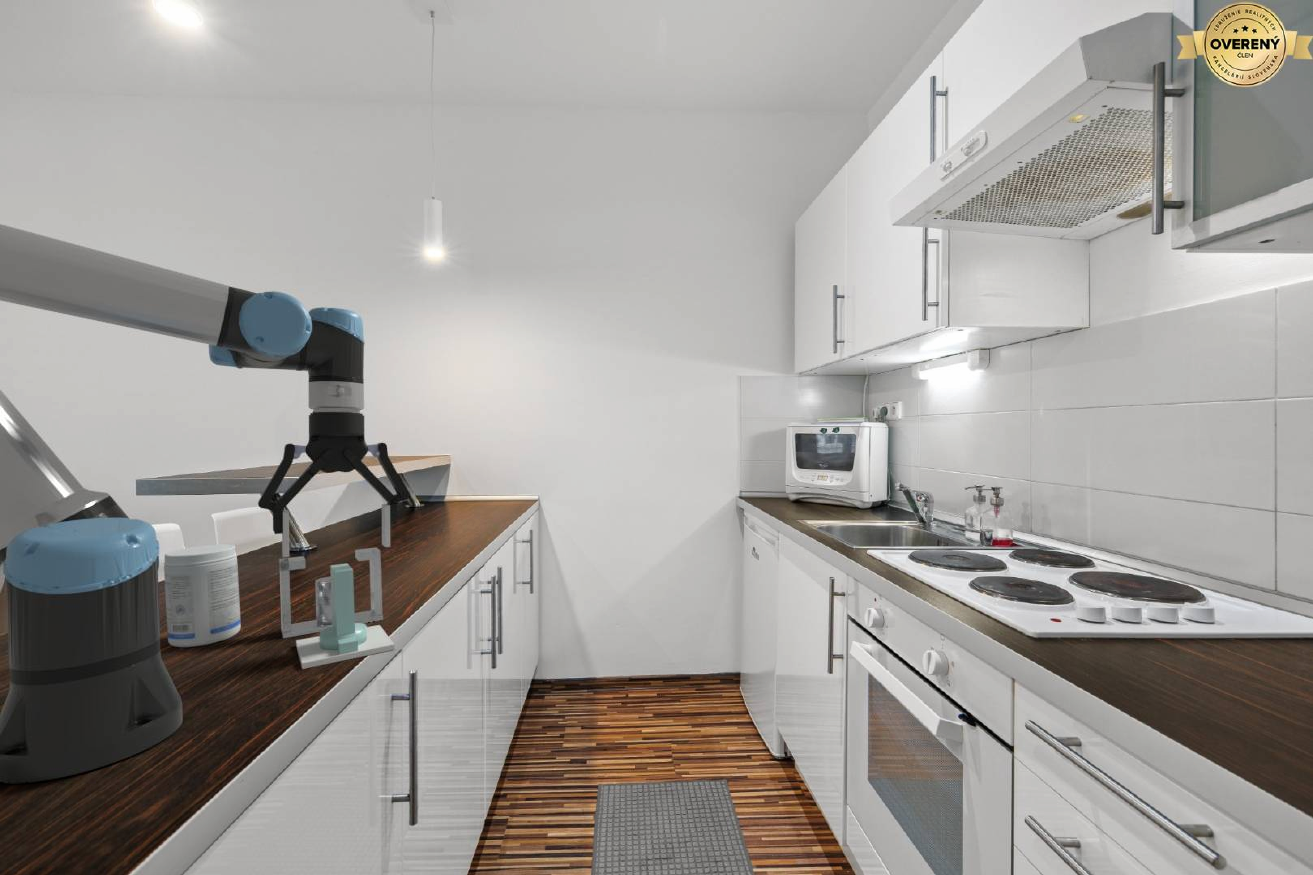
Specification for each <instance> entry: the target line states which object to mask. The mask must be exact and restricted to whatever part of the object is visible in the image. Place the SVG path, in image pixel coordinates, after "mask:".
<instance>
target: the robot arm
mask: <svg viewBox="0 0 1313 875" xmlns="http://www.w3.org/2000/svg"><path fill="white" fill-rule="evenodd" d="M1 301H2V302H5V303H10V304H15V305H21V306H25V307H30V308H35V309H39V310H43V311H49V312H53V313H58V314H62V315H68V316H73V317H78V318H81V319H82V318H83V319H87V320H92V321H97V322H101V323H106V324H110V325H111V324H112V325H115V326H118V327H119V326H120V327H123V328H125V327H126V328H129V329H133V330H134V329H135V330H139V331H144V332H148V333H154V334H159V335H162V336H169V337H173V338H177V339H182V340H187V341H190V342H191V341H192V342H196V343H199V344H200V343H201V344H206V345H208V355H209V359H210V361H211V363H213V364H214V365H216V366H223V367H230V368H231V367H233V368H237V369H238V370H239V369H245V368H246V369H263V370H265V369H266V370H267V369H268V370H285V371H286V370H287V371H289V370H290V371H297V372H298V371H300V372H302V371H303V372H307V373H308V374H307V375H308V408H309V410H313V411H312V412H311V413H310V414H309V415H308V441H307V444H306V445H300V444H299V445H298V444H293V443H287V444H285V445H284V448H283V449H284V450H283V456H282V457H283V458H282V459H281V461H280V464H278V466H277V469H276V470H275V471H274V474H273V475H272V477H271V479H270V481H269V482H268V484H267V485H266V488H265V489H264V491H263V493H262V495H261V497H259V499H258V502H257V505H258V507H259V508H260V509H265V510H269V511H271V513H272V531H273V533H274V534H275V535H281V539H282V540H281V545H282V547H281V555H282V558H290V512H289V510H287V509H285V508H286V507H287V506H288V505H289V503H291V501H292V500H293V499H294V498H295V497H296V496H297V495H298V494H299V493H300V492H301V491H302V490H303V488H305V486H306V485H307V484H308V483H309V482H310V481H311V480H312V479H313V478H314V477H315V476H316V475H317V474H318V473H319V472H320V471H321V472H323V473H325V474H329V473H331V474H332V473H337V472H340V473H351V472H352V471H356V472H357V473H358V474H359V475H360V476H361V477H362V478H363V479H364V480H365V481H366V482H367V483H368V484H369V485H370V487H371V488H372V489H374V490H375V491H376V492H377V493H378V494H379V495H380V497H382V498H383V499H384V500H385V501H386V503H384V504H383V503H382V504H381V546H383V547H384V548H389V547H390V548H391V525H397V522H398V505H399V503H400V502H403V501H406V500H408V499H409V498H410V493H409V491H408V490H407V488H406V486H405V484H404V482H403V481H402V479H401V477H400V476H399V474H398V472H397V470H396V468H395V466H394V464H393V463H392V460H391V459H390V457H389V453H388V447H387V446H388V445H387V444H386V443H385V442H378V443H376V444H375V443H373V444H367V443H366V438H365V415H364V413H361V411H362V410H364V409H365V389H364V388H365V387H364V386H365V384H364V382H365V380H364V364H365V362H364V361H365V360H364V359H365V354H364V353H365V349H364V348H365V337H364V327H363V326H364V324H363V319H362V317H361V316H360V315H359V314H358V313H357V312H355V311H352V310H351V309H350V310H349V309H345V308H340V307H339V308H338V307H327V306H326V307H323V306H322V307H314V308H312V309H310V310H309V311H308V310H307V308H306V306H305V305H304V304H303V303H302V302H301V301H300V300H298V299H297V298H296V297H294V296H292V295H290V294H287V293H284V292H282V291H275V290H274V291H264V292H258V293H257V292H254V291H250V290H247V289H242V288H238V287H235V286H234V287H233V286H229V285H227V284H223V283H220V282H216V281H213V280H212V281H211V280H208V279H204V278H201V277H197V276H193V275H189V274H187V273H183V272H179V271H175V270H171V269H168V268H164V267H160V266H156V265H152V264H150V263H145V262H142V261H139V260H133V259H130V258H128V257H127V258H126V257H123V256H121V255H120V256H119V255H117V254H112V253H109V252H105V251H101V250H99V249H98V250H97V249H94V248H90V247H86V246H82V245H79V244H75V243H71V242H68V241H65V240H60V239H57V238H53V237H50V236H46V235H42V234H39V233H34V232H32V231H31V232H30V231H27V230H24V229H19V228H16V227H13V226H8V225H6V224H2V223H0V302H1ZM368 452H369V453H371V455H372V457H373V458H377V460H378V462H379V464H380V466H381V468H382V470H383V471H384V473H385V475H386V476H387V478H388V481H389V482H390V484H391V485H392V487H393V490H394V491H395V492H396V493H395V494H393V493H392V492H391V491H390V489H389V488H387V487H386V485H384V483H382V481H381V480H380V479H379V478H378V477H377V476H376V475H375V474H374V473H373V472H372V471H371V470H370V469H369V467H368V466H367V465H365V463H364V462H363V461H362V460H363V459H364V458H365V456H366V455H367V454H368ZM304 453H305V454H306V456H308V458H309V459H310V460H311V461H312V463H311V464H310V465H309V466H308V467H307V468H306V469H305V470H304V471H303V472H302V473H301V474H300V476H299V477H297V479H296V480H295V481H294V482H293V483H292V484H291V485H290V486H289V487H288V488H287V490H285V492H284V493H283V494H282V495H281V496H280V497H279V498H278V499H277V500H276V501H275V500H274V501H273V500H272V499H273V498H274V495H276V492H277V490H278V489H279V487H280V485H281V483H283V480H284V479H285V477H286V475H287V473H288V472H289V470H290V468H291V466H292V464H293V461H294V460H298V459H299V458H300V457H301V455H302V454H304ZM284 509H285V510H284ZM159 555H160V543H159V541H158V539H157V533H156V530H155V528H154V526H153V525H152V524H150V523H149V522H147V521H145V520H141V519H138V518H137V519H136V518H131V519H130V518H129V516H128V515H127V514H126V512H125V511H124V510H123V509H122V508H121V506H120V505H119V504H118V503H117V502H116V501H115V499H114V498H113V497H112V496H111V495H110V493H108V492H102V491H95V490H89V489H87V488H84V486H83V485H82V484H81V483H80V481H79V480H78V479H77V478H76V477H75V475H74V474H73V473H72V472H71V471H70V470H69V468H68V467H67V466H66V465H65V464H64V463H63V462H62V460H61V459H60V458H59V457H58V456H57V455H56V453H55V452H54V451H53V450H52V449H51V447H50V446H49V445H48V444H47V443H46V441H45V440H44V439H43V438H42V437H41V435H39V433H38V432H37V431H36V430H35V429H34V427H33V426H32V425H31V424H30V422H29V421H28V420H27V419H26V418H25V417H24V415H23V414H22V413H21V412H20V411H19V410H18V409H17V407H16V406H15V405H14V404H13V403H12V402H11V400H10V399H9V398H8V397H7V396H6V394H5V393H4V392H3V391H2V390H1V389H0V563H1V564H2V573H3V575H4V576H5V580H6V597H7V598H6V599H7V600H6V602H7V603H6V604H7V629H8V630H7V631H8V632H7V633H8V636H7V637H8V663H9V664H8V667H9V691H8V693H7V697H6V698H5V701H4V704H3V707H2V709H1V712H0V782H4V783H3V784H26V783H25V782H29V783H36V782H38V783H39V782H42V781H44V780H45V781H50V780H55V779H60V778H64V777H69V776H73V775H78V774H81V773H85V772H89V771H92V770H95V769H99V768H102V767H104V766H108V765H111V764H114V763H116V762H119V761H122V760H124V759H128V758H129V757H133V756H134V755H136V754H139V753H142V752H143V751H144V752H145V750H147V749H150V748H152V747H153V746H155V745H157V744H159V743H161V742H163V741H164V740H166V739H167V738H169V737H170V736H171V735H173V734H174V733H175V732H176V731H177V730H179V728H180V727H181V725H182V723H183V720H184V719H183V717H184V715H183V703H182V702H183V701H182V698H181V696H180V694H179V692H178V689H177V688H176V686H175V684H174V682H173V679H172V678H171V675H170V674H169V671H168V669H167V667H166V666H165V663H164V661H163V659H162V655H161V653H162V652H161V630H160V629H161V627H160V626H161V625H160V623H161V622H160V599H159V598H160V596H159V594H160V593H159V568H160V556H159ZM8 782H10V783H8ZM13 782H14V783H13ZM16 782H17V783H16ZM19 782H20V783H19ZM21 782H22V783H21Z"/></svg>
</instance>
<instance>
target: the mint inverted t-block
mask: <svg viewBox="0 0 1313 875" xmlns="http://www.w3.org/2000/svg"><path fill="white" fill-rule="evenodd" d="M329 567H330V568H329V569H330V576H331V603H332V625H331V626H330V627H329V628H326V629H324V630H322V631H321V632H319V636H320V648H321V649H324V650H338V652H339V654H345V653H350V652H355V651H358V645H360V644H362V643H364V642H365V641H366V640H367V627H368V626H367V624H366V623H364V624H363V623H355V614H354V613H355V590H354V589H355V588H354V587H355V585H354V584H355V583H354V569H353V568H352V566H350V564H348V562H347V563H340V564H333V565H330V566H329Z"/></svg>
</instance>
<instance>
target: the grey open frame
mask: <svg viewBox="0 0 1313 875" xmlns="http://www.w3.org/2000/svg"><path fill="white" fill-rule="evenodd" d="M354 554H355V555H354V556H355V557H354V558H355V559H356V560H357V561H358V562H363V561H364V562H365V561H369V585H370V586H369V587H370V609H369V610H365V611H359V612H354V614H355V623H363V624H368V622H370V623H374V622H373V621H375V622H379V621H380V620H381V621H383V620H384V615H383V590H382V588H383V587H382V586H383V585H382V562H381V561H382V560H381V558H382V556H381V549H379V548H378V547H377V546H376V547H369V548H368V547H367V548H360V549H355V550H354ZM278 560H279V588H280V590H279V591H280V593H279V594H280V623H281V627H280V628H281V635H282V638H283V639H288V638H292V637H298V636H303V635H304V636H305V635H309V634H315V633H320V632H321V631H322V630H324V629H326V628H329V627H330V626H331V625H332V603H331V575H330V576H325V577H320V578H318V579H317V578H316V579H315V582H314V583H315V584H314V585H315V612H316V613H315V615H316V619H313V620H309V621H307V620H306V621H302V622H295V623H292V615H291V613H292V612H291V610H292V609H291V581H290V580H291V579H290V578H291V576H290V575H291V573H290V571H293V570H295V571H296V570H302V569H303V570H304V569H307V568H306V558H305V557H304V555H303V556H294V557H283V558H279V559H278Z"/></svg>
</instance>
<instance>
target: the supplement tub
mask: <svg viewBox="0 0 1313 875" xmlns="http://www.w3.org/2000/svg"><path fill="white" fill-rule="evenodd" d="M163 565H164V566H163V571H164V572H163V574H164V592H165V593H164V594H165V609H166V610H165V611H166V625H167V626H166V627H167V628H166V629H167V641H168V644H169V645H170V646H173V647H176V648H177V647H178V648H191V647H192V648H195V647H200V646H208V645H211V644H213V643H214V644H215V643H217V642H220V641H225V640H227V639H230V638H232V637H234V636H235V635H237V634H238V633H239V632H240V630H241V628H242V627H241V621H242V620H241V606H240V605H241V604H240V589H239V588H240V586H239V584H240V583H239V571H238V570H239V568H238V557H237V553H236V545H234V544H210V545H208V544H207V545H201V546H193V547H185V548H181V549H175V550H172V551H169V552H166V553H165V554H164V562H163Z"/></svg>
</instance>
